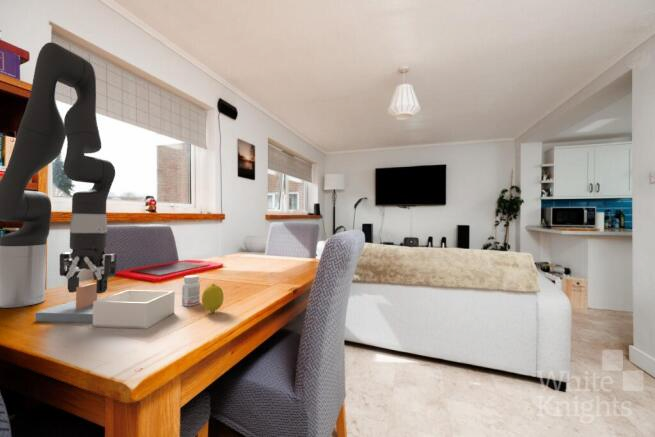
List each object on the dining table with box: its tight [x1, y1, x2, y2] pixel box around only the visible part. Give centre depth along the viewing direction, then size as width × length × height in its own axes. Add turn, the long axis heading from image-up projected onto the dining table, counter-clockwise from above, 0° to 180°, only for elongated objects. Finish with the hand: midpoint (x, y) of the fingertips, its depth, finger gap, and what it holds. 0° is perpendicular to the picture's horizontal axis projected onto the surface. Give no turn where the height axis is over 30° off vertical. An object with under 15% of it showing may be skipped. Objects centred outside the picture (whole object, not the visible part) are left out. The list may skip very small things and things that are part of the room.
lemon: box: [201, 283, 224, 313], centre depth 77 cm, size 6×6×8 cm
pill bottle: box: [181, 274, 201, 307], centre depth 84 cm, size 5×5×8 cm
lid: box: [35, 282, 100, 324], centre depth 74 cm, size 14×12×8 cm
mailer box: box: [92, 289, 176, 330], centre depth 71 cm, size 13×11×6 cm
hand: (87, 292), depth 74 cm, fingers open, 7 cm apart
